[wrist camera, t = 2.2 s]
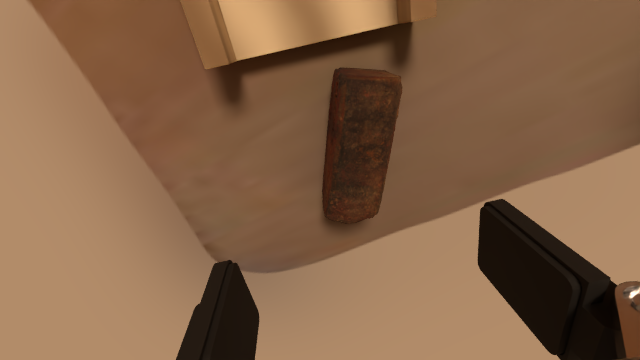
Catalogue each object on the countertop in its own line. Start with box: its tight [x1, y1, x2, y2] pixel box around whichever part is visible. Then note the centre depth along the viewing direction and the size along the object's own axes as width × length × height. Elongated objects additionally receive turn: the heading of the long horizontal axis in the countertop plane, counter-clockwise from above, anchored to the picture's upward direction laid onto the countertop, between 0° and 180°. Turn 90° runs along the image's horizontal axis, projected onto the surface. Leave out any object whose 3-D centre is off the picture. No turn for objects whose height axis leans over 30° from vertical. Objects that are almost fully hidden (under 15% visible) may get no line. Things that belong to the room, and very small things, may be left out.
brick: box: [322, 68, 402, 224], centre depth 21 cm, size 11×4×5 cm, turn 176°
